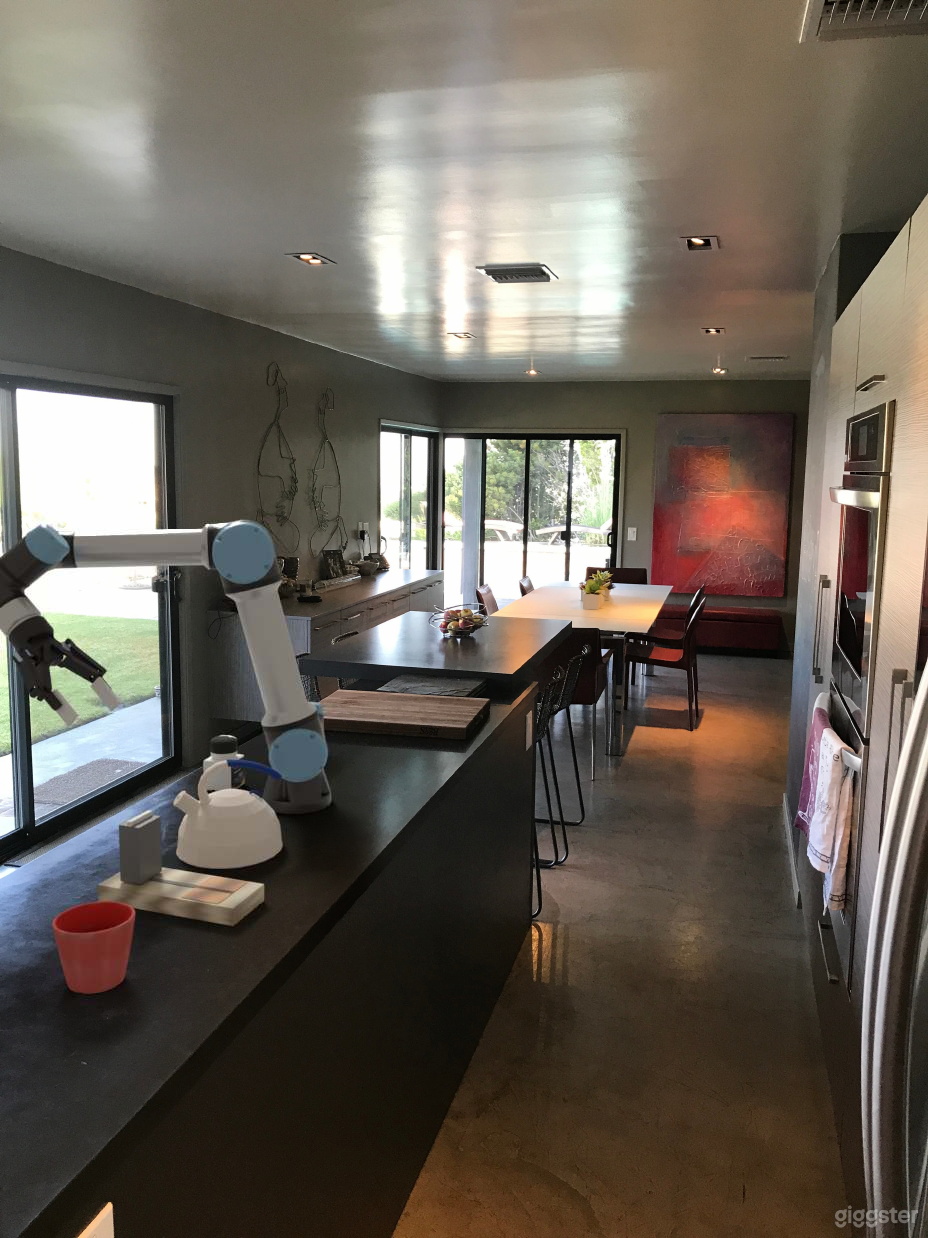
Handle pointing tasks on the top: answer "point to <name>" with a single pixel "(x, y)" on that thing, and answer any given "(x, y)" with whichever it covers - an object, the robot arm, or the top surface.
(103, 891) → the fader console
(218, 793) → the kettle
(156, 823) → the fader knob
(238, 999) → the top surface
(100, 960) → the flower pot
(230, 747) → the medicine bottle
